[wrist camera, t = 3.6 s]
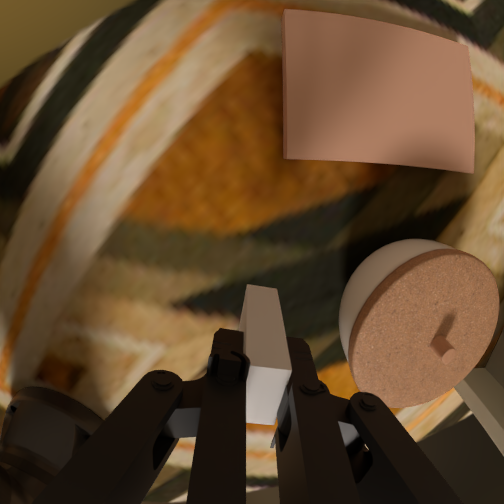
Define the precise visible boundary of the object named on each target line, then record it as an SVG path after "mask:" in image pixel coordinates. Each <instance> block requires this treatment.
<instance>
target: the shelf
mask: <svg viewBox="0 0 504 504" xmlns="http://www.w3.org/2000/svg"><path fill="white" fill-rule="evenodd" d="M454 388H455V390H456V391H457V392H458V393H459V395H460V396H461V397H462V399H463V400H464V401H465V403H466V404H467V405H468V407H469V408H470V409H471V411H472V412H473V414H474V415H475V416H476V418H477V419H478V420H479V422H480V423H481V424H482V426H483V427H484V429H485V430H486V432H488V434H489V436H490V437H491V439H492V440H493V441H494V443H495V444H496V446H497V447H498V449H499V450H500V451H501V453H502V454H503V456H504V329H503V331H502V333H501V335H500V338H499V340H498V342H497V344H496V346H495V348H494V350H493V352H492V354H491V356H490V358H489V360H488V362H487V364H486V366H485V368H473V369H472V370H471V372H470V373H469V374H468V375H467V376H466V377H465V378H464V379H463V380H462V381H461V382H459V383H458V384H457V385H456V386H454Z"/></svg>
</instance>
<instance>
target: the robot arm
mask: <svg viewBox="0 0 504 504" xmlns="http://www.w3.org/2000/svg"><path fill="white" fill-rule="evenodd" d="M276 418H277V419H278V426H277V429H276V432H275V435H274V437H273V440H272V443H271V447H270V448H274V445H275V444H276V457H277V470H278V483H279V497H280V504H464V503H463V502H462V501H461V500H460V498H459V497H458V496H457V494H456V493H455V492H454V491H453V489H452V488H451V487H450V486H449V484H448V483H447V482H446V480H445V479H444V478H443V477H442V475H441V474H440V473H439V471H438V470H437V469H436V468H435V466H434V465H433V464H432V462H431V461H430V460H429V459H428V458H427V456H426V455H425V454H424V452H423V451H422V450H421V449H420V447H419V446H418V445H417V443H416V442H415V441H414V440H413V438H412V437H411V436H410V435H409V433H408V432H407V431H406V430H405V428H404V427H403V426H402V424H401V423H400V422H399V421H398V419H397V418H396V417H395V416H394V414H393V413H392V412H391V411H390V409H389V408H388V407H387V406H386V404H385V403H384V402H383V401H382V400H381V399H380V398H379V397H378V396H376V395H374V394H372V393H368V392H358V393H355V394H353V395H352V397H351V398H350V400H348V399H344V398H341V397H337V396H334V395H332V394H330V392H329V389H328V388H327V386H326V385H325V384H324V383H323V382H322V381H320V380H318V376H317V373H316V369H315V365H314V362H313V358H312V355H311V351H310V348H309V345H308V344H307V343H306V342H305V341H304V340H303V339H301V338H293V337H286V335H285V329H284V324H283V319H282V313H281V308H280V303H279V298H278V292H277V289H274V288H267V287H261V286H254V285H248V284H247V288H246V293H245V299H244V304H243V309H242V315H241V320H240V325H239V331H236V330H229V329H223V328H220V329H219V330H218V331H217V332H216V333H215V334H214V338H213V344H212V350H211V354H210V356H209V360H208V368H207V373H206V374H205V375H204V376H203V377H202V378H200V379H197V380H193V381H182V379H181V378H180V377H179V376H178V375H177V374H175V373H173V372H170V371H166V370H154V371H151V372H148V373H147V374H146V375H144V376H143V377H142V379H141V380H140V381H139V382H138V383H137V384H136V385H135V387H134V388H133V389H132V390H131V391H130V392H129V393H128V395H127V396H126V397H125V398H124V399H123V400H122V401H121V402H120V404H119V405H118V406H117V407H116V408H115V409H114V410H113V411H112V413H111V414H110V415H109V416H108V417H107V418H106V419H105V421H103V420H102V419H100V418H99V417H98V416H97V415H95V414H94V413H93V412H92V411H90V410H89V409H87V408H86V407H84V406H83V405H81V404H79V403H78V402H76V401H74V400H73V399H71V398H69V397H67V396H65V395H62V394H60V393H58V392H55V391H52V390H49V389H45V388H40V387H27V388H23V389H21V390H20V391H18V393H17V394H16V395H15V396H14V398H13V399H12V400H11V402H10V403H9V405H8V407H7V410H6V414H5V418H4V422H3V427H2V431H1V436H0V504H141V503H142V501H143V499H144V498H145V496H146V494H147V493H148V491H149V490H150V488H151V486H152V485H153V483H154V481H155V480H156V478H157V476H158V475H159V473H160V471H161V470H162V468H163V466H164V465H165V463H166V461H167V460H168V458H169V456H170V455H171V453H172V451H173V449H174V448H175V446H176V444H177V443H178V441H179V438H184V437H196V442H195V449H194V455H193V462H192V468H191V475H190V482H189V488H188V495H187V502H186V504H246V422H247V423H256V424H266V425H274V424H275V421H276ZM365 444H366V446H367V447H368V449H369V450H368V449H367V448H366V447H365Z"/></svg>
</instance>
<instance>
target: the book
mask: <svg viewBox="0 0 504 504" xmlns="http://www.w3.org/2000/svg"><path fill="white" fill-rule="evenodd" d="M281 30H282V69H283V159H307V160H334V161H353V162H369V163H382V164H394V165H405V166H416V167H425V168H434V169H442V170H450V171H458V172H465V173H472V174H474V148H475V129H474V101H473V86H472V75H471V66H470V57H469V50H468V46H466V45H463V44H460V43H457V42H455V41H452V40H449V39H446V38H442V37H439V36H436V35H433V34H429V33H426V32H423V31H419V30H415V29H411V28H408V27H404V26H400V25H395V24H391V23H386V22H382V21H377V20H372V19H366V18H361V17H355V16H349V15H342V14H335V13H327V12H318V11H307V10H294V9H284V12H283V16H282V19H281Z"/></svg>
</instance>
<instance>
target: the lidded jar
mask: <svg viewBox="0 0 504 504" xmlns="http://www.w3.org/2000/svg"><path fill="white" fill-rule="evenodd" d="M498 314H499V293H498V287H497V284H496V281H495V278H494V276H493V274H492V272H491V271H490V269H489V268H488V267H487V266H486V265H485V264H484V263H483V262H482V261H481V260H479V259H478V258H476V257H475V256H473V255H471V254H469V253H466V252H463V251H460V250H458V249H455V248H453V247H451V246H448V245H446V244H443V243H440V242H436V241H433V240H425V239H405V240H401V241H397V242H393V243H390V244H388V245H385V246H383V247H381V248H380V249H378V250H376V251H375V252H373V253H372V254H371V255H369V256H368V257H367V258H366V259H365V260H364V261H363V262H362V263H361V264H360V265H359V266H358V267H357V269H356V270H355V271H354V273H353V274H352V275H351V277H350V279H349V281H348V283H347V285H346V287H345V290H344V292H343V296H342V300H341V304H340V309H339V328H340V337H341V341H342V346H343V349H344V352H345V355H346V358H347V361H348V363H349V366H350V370H351V373H352V376H353V379H354V381H355V383H356V385H357V387H358V388H359V390H360V391H361V392H368V393H372V394H374V395H376V396H378V397H379V398H380V399H381V400H382V401H383V402H384V403H385V404H386V406H387V407H392V408H405V407H412V406H416V405H420V404H424V403H426V402H429V401H431V400H433V399H435V398H437V397H439V396H441V395H443V394H444V393H446V392H447V391H449V390H450V389H452V388H453V387H454V386H456V385H457V384H458V383H459V382H461V381H462V380H463V379H464V378H465V377H466V376H467V375H468V374H469V373H470V372H471V370H472V369H473V368H474V367H475V366H476V364H477V363H478V362H479V360H480V359H481V357H482V356H483V354H484V353H485V351H486V349H487V347H488V345H489V344H490V341H491V339H492V336H493V334H494V331H495V328H496V324H497V321H498Z"/></svg>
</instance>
